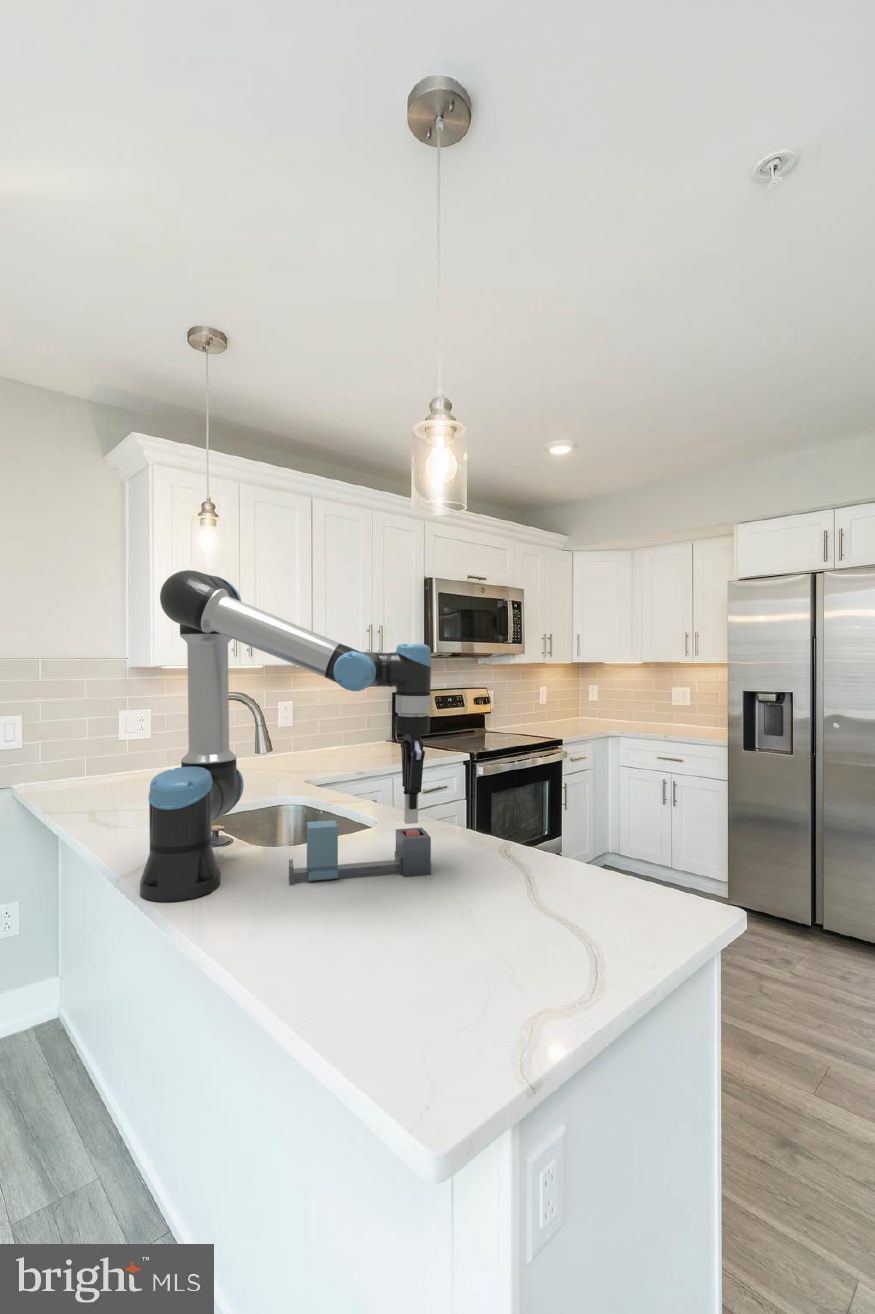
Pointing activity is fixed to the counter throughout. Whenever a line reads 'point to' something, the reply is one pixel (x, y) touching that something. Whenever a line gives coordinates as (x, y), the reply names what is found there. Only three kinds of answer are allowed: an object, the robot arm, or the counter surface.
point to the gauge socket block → (414, 852)
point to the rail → (351, 870)
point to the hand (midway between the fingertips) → (411, 822)
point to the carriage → (322, 850)
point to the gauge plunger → (412, 833)
